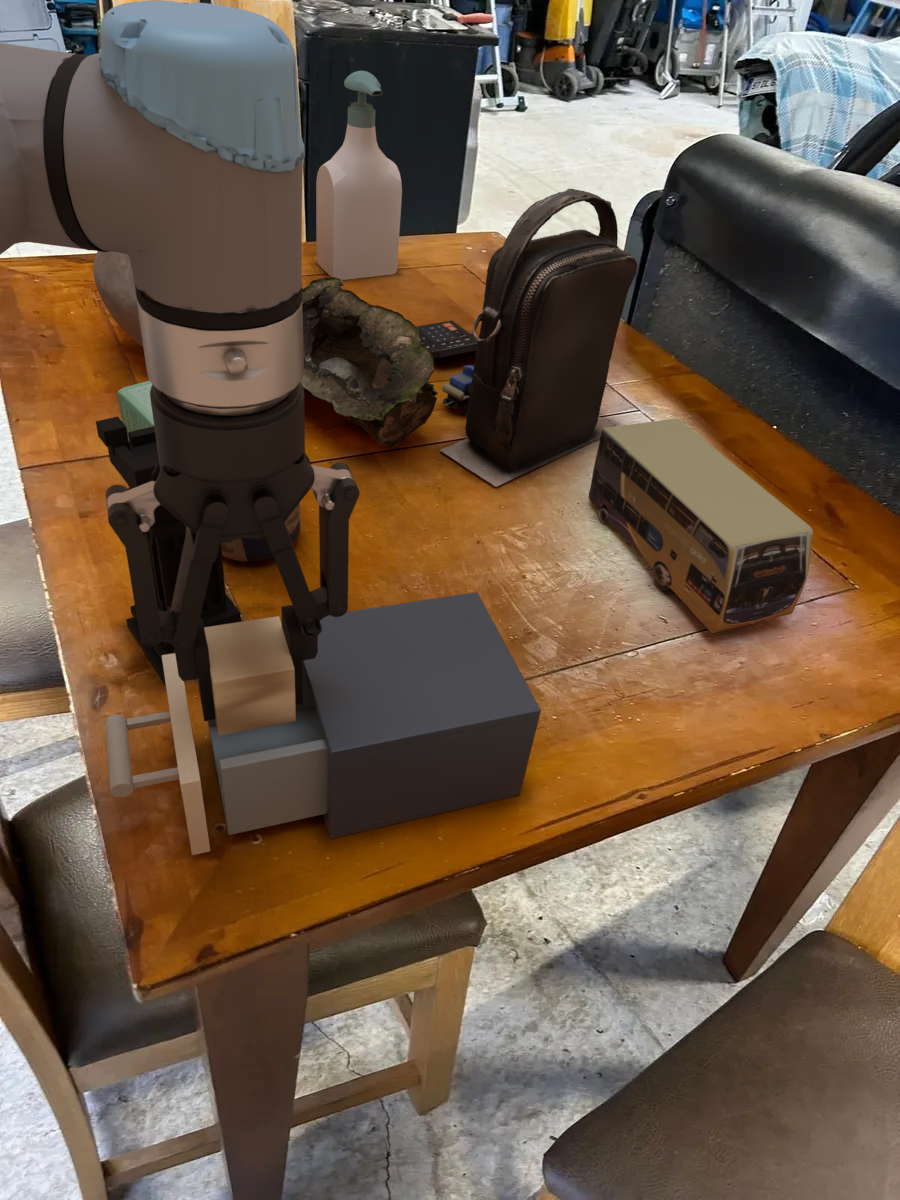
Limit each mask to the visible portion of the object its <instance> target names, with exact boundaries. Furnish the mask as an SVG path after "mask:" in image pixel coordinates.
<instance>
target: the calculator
mask: <svg viewBox="0 0 900 1200" xmlns="http://www.w3.org/2000/svg"><path fill="white" fill-rule="evenodd" d="M416 327H417V328H418V330H419V336H420V339H421V342H422V344H423V345H424V346H426V347H427V348H428V349H429V350H430V351H431V355H432V356H433V359H438V358H443V357H444V358H445V357H449V356H450V357H451V356H455V355H459V354H464V353H465V354H466V353H471V352H474V351H477V344H478V342H477V341H475V339H474V338H473V336H472V335H471V334H472V333H470V332H468V331H467V330H465V328H463V327H461V326H460V324H457V323H456V322H455V321H454V320H452V319H451V320H447V321H441V322H434V323H429V324H423V325H417V326H416Z"/></svg>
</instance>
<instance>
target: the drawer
mask: <svg viewBox="0 0 900 1200" xmlns="http://www.w3.org/2000/svg"><path fill="white" fill-rule="evenodd" d="M162 662H163V669H164V676H165V683H166V685H165V689H166V697H167V702H168V703H167V704H168V708H169V709H168V710H169V711H162V712H158V713H152V714H146V715H145V714H144V715H140V716H134V717H129V718H127V717H126V716H124V715H123V714H117V713H116V714H112V715H111V714H110V715H109V716H108V717H106V719H105V720H104V726H105V727H104V728H105V742H106V757H107V768H108V769H107V771H108V781H109V793H110V795H111V796H113V797H115V798H126V797H128V796H129V795H131V794H132V793H133V791H134V789H138V788H144V787H147V786H153V785H159V784H163V783H167V782H172V781H178V780H179V785H180V792H181V797H182V798H181V799H182V804H183V809H184V816H185V821H186V828H187V834H188V839H189V845H190V852H191V855H192V856H196V855H200V854H205V853H209V852H211V845H210V839H209V838H210V837H209V830H208V824H207V817H206V808H205V803H204V802H205V801H204V796H203V790H202V781H201V776H200V775H201V774H200V769H199V764H198V757H197V751H196V746H195V740H194V733H193V727H192V721H191V715H190V708H189V703H188V695H187V690H186V684H185V681H182V679H181V678H180V677H179V675H178V668H177V662H176V656H175V653H173V654H167V655H162ZM302 678H303V703H302V704H296V721H294V722H288V723H283V724H278V725H272V726H267V727H262V728H257V729H251V730H246V731H241V732H236V733H230V734H225V735H219V734H218V729H217V724H216V719H214V720H209V721H207V726H208V732H209V739H210V742H211V748H212V754H213V759H214V764H215V771H216V776H217V783H218V787H219V792H220V798H221V803H222V808H223V809H222V810H223V814H224V820H225V825H226V826H225V827H226V831H227V835H228V836H232V835H236V834H241V833H245V832H250V831H254V830H258V829H264V828H268V827H272V826H276V825H277V826H278V825H281V824H286V823H290V822H295V821H299V820H303V819H307V818H312V817H318V816H321V815H322V816H323V814H326V813H327V803H328V749H327V745H326V742H325V739H324V735H323V732H322V729H321V725H320V722H319V719H318V715H317V712H316V709H315V705H314V702H313V699H312V695H311V692H310V689H309V685H308V682H307V679H306V675H305V672H304V669H303V665H302ZM170 723H171V731H172V737H173V744H174V750H175V751H174V752H175V757H176V758H175V759H176V767H171V768H166V769H160V770H155V771H152V772H151V771H149V772H146V773H140V774H135V775H133V771H132V761H131V751H130V740H129V731H132V730H137V729H143V728H149V727H153V726H159V725H164V724H170Z"/></svg>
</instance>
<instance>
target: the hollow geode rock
mask: <svg viewBox="0 0 900 1200" xmlns="http://www.w3.org/2000/svg"><path fill="white" fill-rule="evenodd" d="M343 286H344V280H340V279H339V278H335V277H331V276H330V277H321V278H317V279H314V280H311V281H310V282H309V284H308V285H307V286H306V287H304V288H302V315H303V355H304V373H303V377H302V380H301V381H300V382H301V384H302V386H303V389H304V390H307V391H308V392H310V393H311V395H312V396H313V397H314V398H318V399H319V400H322V401H326V403H328V404H329V405H331V406H333V410H334V411H335V413H337V414H338V415H342V416H344V417H347V418H348V421H349V422H351V423H353V424H355V425H357V426H360V427H361V428H363V430H364V431H365V432H367V433H368V434H369V436H371V438H373V440H375V442H376V444H378V445H380V446H390V448H395V447H397V446H399V445H400V444H401V443H403V442H404V441H405V440H406V439H408V437H409V436H411V435H412V434H413V433H414V432H415V431H416V430H418V429H419V428H420V427H421V426H423V425H425V424H426V422H427V421H428V419H429V418H430V417H431V416H432V413H433V411H434V409H435V406H436V403H437V400H438V398H437V396H436V395H438V394H439V392H438V391H437V390H436V388H434V386H435V384H432V383H430V381H429V380H430V379H431V376H432V375H433V374H434V372H435V365H434V358H433V356H432V355H431V351H430V350H429V349H428V348H427V347H426V346H424V345H423V344H422V342H421V339H420V336H419V330H418V328H417V326H416V325H415V324H414V323H413V322H412V321H411V320H409V319H406V317H404V315H403V314H402V313H400V312H399V311H395V310H392V309H390V308H388V307H387V308H386V307H384V306H381V305H373V304H370V303H369V302H367V301H366V300H364V299H363V298H360V297H359V295H357V294H356V293H355V292H353V291H352V290H349V289H345V288H342V287H343Z"/></svg>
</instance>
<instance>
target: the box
mask: <svg viewBox="0 0 900 1200" xmlns="http://www.w3.org/2000/svg"><path fill="white" fill-rule="evenodd" d="M151 387H152V383H151V381H150V380H147V381H143V382H140V383H136V384H132V385H128V386H124V387H122V388H120V389H119V390H118V391H117V399H118V406H119V410H120V411H119V413H120V417H121V418H120V419H121V421H122V422H123V423H124V424H125V426H126V427H127V434H128V432H131V431H135V430H140V429H144V428H148V427H152V426H154V421H153V414H152V406H151V399H150V390H151ZM128 440H129V436H128Z"/></svg>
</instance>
